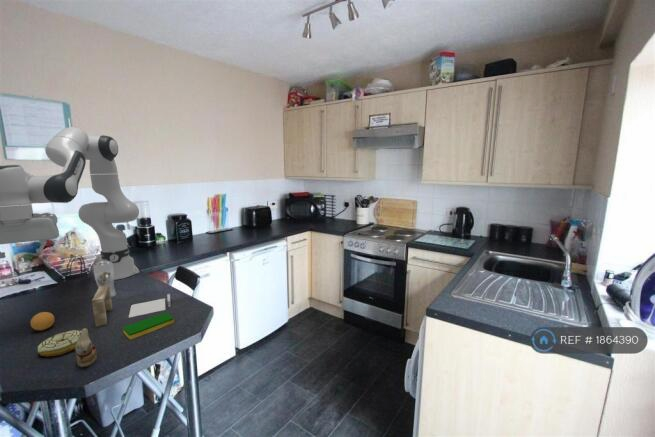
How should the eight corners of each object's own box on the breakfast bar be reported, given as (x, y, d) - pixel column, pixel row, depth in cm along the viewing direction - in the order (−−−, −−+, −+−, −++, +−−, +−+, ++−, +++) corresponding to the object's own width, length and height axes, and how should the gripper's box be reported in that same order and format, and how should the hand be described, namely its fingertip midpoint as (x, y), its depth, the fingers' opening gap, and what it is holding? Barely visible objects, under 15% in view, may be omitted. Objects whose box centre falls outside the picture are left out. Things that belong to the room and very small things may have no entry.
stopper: (167, 300, 124) (167, 294, 124) (170, 299, 125) (169, 293, 124) (168, 307, 117) (167, 301, 117) (171, 306, 118) (170, 300, 117)
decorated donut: (50, 343, 94) (48, 332, 94) (90, 336, 98) (89, 325, 97) (31, 362, 85) (29, 350, 84) (77, 353, 88) (75, 342, 88)
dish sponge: (123, 333, 99) (122, 327, 99) (166, 318, 110) (165, 311, 109) (130, 341, 95) (129, 334, 94) (174, 324, 105) (174, 317, 105)
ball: (35, 327, 104) (32, 311, 103) (58, 323, 106) (55, 307, 106) (29, 335, 98) (25, 318, 97) (52, 330, 101) (49, 314, 100)
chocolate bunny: (67, 370, 80) (61, 336, 79) (85, 353, 88) (79, 322, 86) (90, 367, 81) (84, 334, 80) (105, 351, 89) (101, 320, 87)
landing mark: (131, 305, 120) (131, 305, 120) (165, 298, 125) (165, 298, 125) (128, 317, 109) (128, 317, 109) (165, 310, 115) (165, 309, 115)
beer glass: (106, 299, 125) (101, 266, 123) (93, 298, 127) (88, 265, 124) (121, 293, 132) (116, 261, 130) (108, 292, 134) (103, 260, 131)
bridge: (95, 326, 103) (91, 300, 102) (103, 309, 116) (99, 286, 115) (106, 324, 105) (102, 298, 103) (112, 307, 118) (109, 284, 116)
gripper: (58, 211, 105) (64, 249, 106) (-25, 217, 95) (-18, 259, 96) (53, 212, 99) (59, 252, 101) (-37, 218, 89) (-28, 263, 91)
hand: (21, 255), depth 98 cm, fingers open, 8 cm apart
